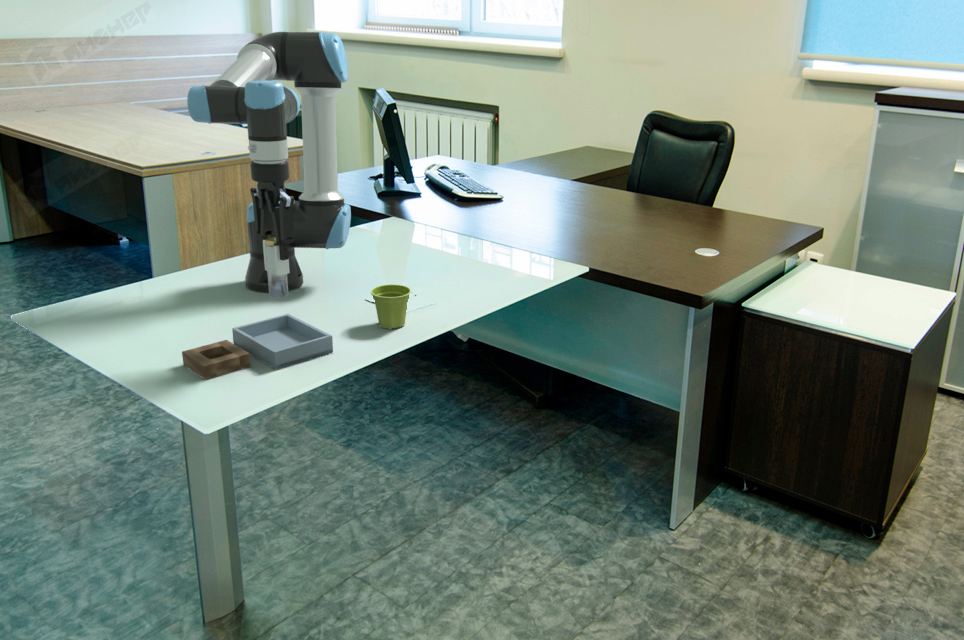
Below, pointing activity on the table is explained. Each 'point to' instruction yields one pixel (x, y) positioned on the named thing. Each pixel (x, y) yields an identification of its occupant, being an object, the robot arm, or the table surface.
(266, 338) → the tray
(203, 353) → the socket block
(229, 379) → the table surface
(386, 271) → the table surface
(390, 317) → the plant pot
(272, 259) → the pin
